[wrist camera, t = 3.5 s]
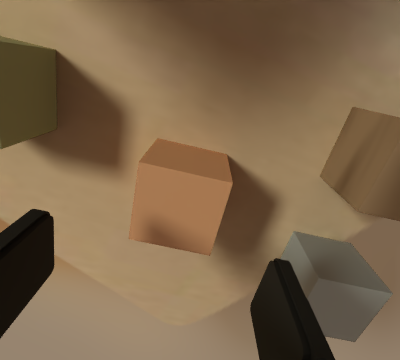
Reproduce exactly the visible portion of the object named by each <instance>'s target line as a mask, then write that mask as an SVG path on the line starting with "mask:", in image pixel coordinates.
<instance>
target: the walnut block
mask: <svg viewBox="0 0 400 360" xmlns="http://www.w3.org/2000/svg"><path fill="white" fill-rule="evenodd" d="M320 177H321V178H322V179H323V180H324V181H325V182H327V183H328V184H329V185H330V186H331V187H332V188H333V189H334V190H335V191H336V192H337V193H338V194H339V195H341V196H342V197H343V198H344V199H345V200H346V201H347V202H348V203H349V204H350V205H351V206H352V207H353V208H355V209H356V210H357V211H358V212H362V213H366V214H371V215H375V216H379V217H384V218H388V219H393V220H397V221H400V118H399V117H394V116H390V115H386V114H381V113H377V112H373V111H368V110H364V109H360V108H356V107H352V109H351V112H350V114H349V116H348V118H347V120H346V122H345V124H344V126H343V128H342V130H341V133H340V135H339V137H338V139H337V141H336V143H335V145H334V147H333V149H332V151H331V154H330V156H329V158H328V160H327V162H326V164H325V166H324V168H323V170H322V172H321V175H320Z"/></svg>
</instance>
